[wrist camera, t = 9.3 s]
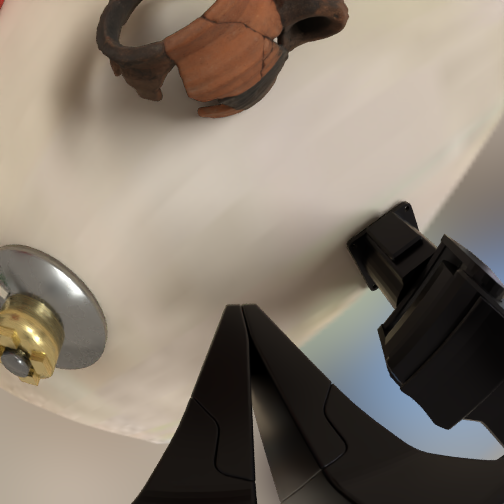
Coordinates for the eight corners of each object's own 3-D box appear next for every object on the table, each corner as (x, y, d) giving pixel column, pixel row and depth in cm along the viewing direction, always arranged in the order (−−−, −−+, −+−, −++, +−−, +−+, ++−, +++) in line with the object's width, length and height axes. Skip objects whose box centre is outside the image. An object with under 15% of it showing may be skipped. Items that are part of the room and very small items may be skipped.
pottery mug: (173, 148, 17) (81, 121, 9) (155, 39, 16) (87, -12, 8) (363, 97, 14) (392, 19, 6) (313, -11, 13) (301, -93, 5)
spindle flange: (123, 367, 26) (115, 422, 21) (16, 354, 24) (-1, 398, 18) (84, 242, 19) (49, 303, 13) (-36, 246, 16) (-73, 289, 10)
